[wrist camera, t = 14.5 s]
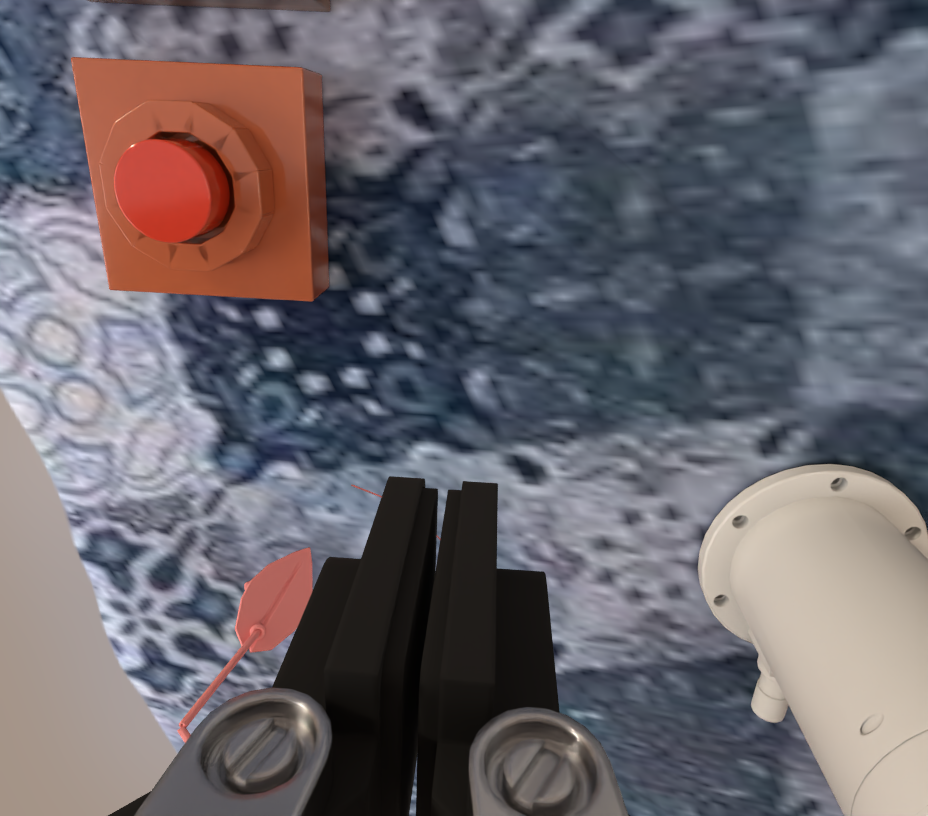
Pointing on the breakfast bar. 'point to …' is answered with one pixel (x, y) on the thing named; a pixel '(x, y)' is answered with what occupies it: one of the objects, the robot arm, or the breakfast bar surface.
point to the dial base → (238, 4)
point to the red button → (171, 189)
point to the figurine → (266, 613)
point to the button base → (243, 161)
